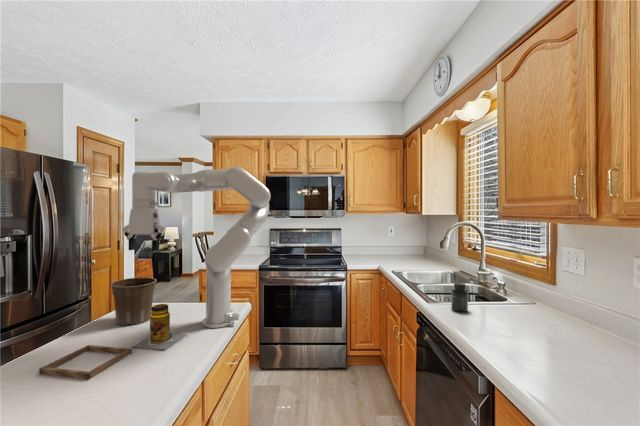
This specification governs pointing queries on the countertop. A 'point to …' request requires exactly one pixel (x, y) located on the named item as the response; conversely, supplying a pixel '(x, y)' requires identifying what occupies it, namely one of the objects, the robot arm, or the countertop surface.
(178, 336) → the mat
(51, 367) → the wooden square frame
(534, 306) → the countertop surface
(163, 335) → the condiment
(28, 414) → the countertop surface
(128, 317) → the plant pot
